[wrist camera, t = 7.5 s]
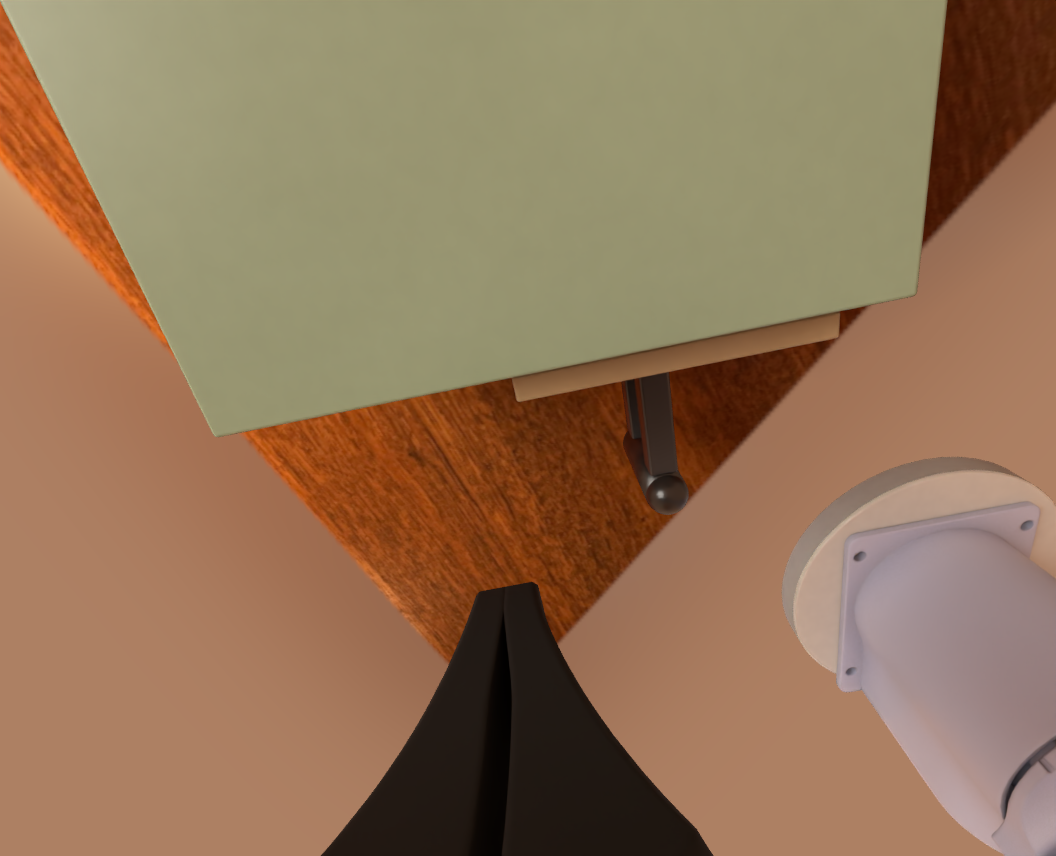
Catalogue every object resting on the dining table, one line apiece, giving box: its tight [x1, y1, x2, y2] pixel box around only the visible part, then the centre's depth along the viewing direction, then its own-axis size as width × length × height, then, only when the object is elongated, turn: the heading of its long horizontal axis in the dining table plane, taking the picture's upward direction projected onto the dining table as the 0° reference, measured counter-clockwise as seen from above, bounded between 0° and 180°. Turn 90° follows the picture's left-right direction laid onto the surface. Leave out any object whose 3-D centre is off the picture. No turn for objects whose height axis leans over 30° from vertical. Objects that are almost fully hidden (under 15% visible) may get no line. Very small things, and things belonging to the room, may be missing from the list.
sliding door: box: [512, 312, 840, 515], centre depth 16 cm, size 6×7×7 cm
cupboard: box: [0, 0, 947, 437], centre depth 13 cm, size 11×14×9 cm
